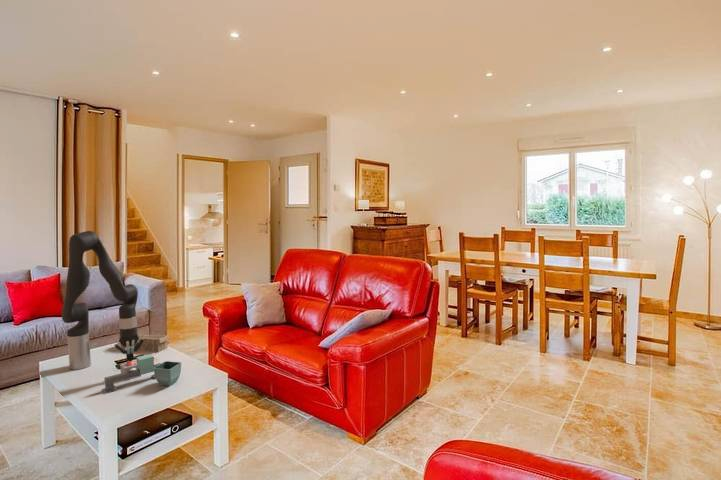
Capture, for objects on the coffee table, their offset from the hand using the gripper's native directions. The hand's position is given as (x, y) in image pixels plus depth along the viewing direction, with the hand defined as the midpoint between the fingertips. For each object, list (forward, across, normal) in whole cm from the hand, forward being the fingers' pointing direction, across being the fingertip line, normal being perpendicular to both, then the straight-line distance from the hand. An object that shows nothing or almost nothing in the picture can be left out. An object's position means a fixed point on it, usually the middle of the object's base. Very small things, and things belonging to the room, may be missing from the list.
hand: (130, 360), depth 201 cm
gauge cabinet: (+8, 0, 0) cm, 8 cm away
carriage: (+3, +4, -10) cm, 11 cm away
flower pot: (+8, +10, -22) cm, 26 cm away
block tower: (+8, +17, +38) cm, 43 cm away
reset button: (+5, 0, 0) cm, 5 cm away
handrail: (+8, -1, -10) cm, 13 cm away
